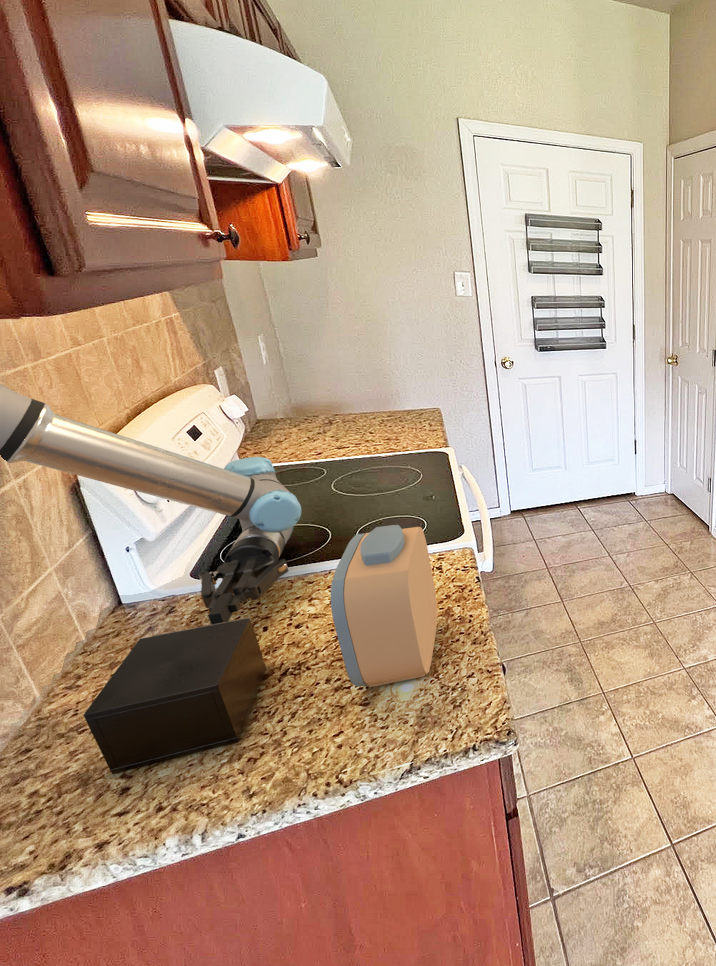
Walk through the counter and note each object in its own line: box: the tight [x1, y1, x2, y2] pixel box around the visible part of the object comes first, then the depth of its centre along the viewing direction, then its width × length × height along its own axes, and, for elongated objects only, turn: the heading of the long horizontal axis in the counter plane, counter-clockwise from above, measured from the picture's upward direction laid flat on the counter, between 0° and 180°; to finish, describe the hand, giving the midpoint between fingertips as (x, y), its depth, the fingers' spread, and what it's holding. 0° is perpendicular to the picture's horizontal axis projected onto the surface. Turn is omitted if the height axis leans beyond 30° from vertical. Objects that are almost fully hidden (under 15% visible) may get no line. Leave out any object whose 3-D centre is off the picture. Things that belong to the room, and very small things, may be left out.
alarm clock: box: [330, 524, 438, 688], centre depth 88 cm, size 21×10×22 cm, turn 20°
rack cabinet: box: [83, 617, 267, 775], centre depth 78 cm, size 16×13×10 cm
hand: (216, 621), depth 89 cm, fingers closed
